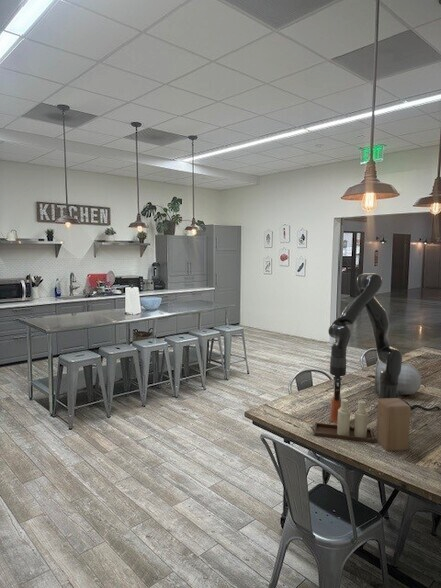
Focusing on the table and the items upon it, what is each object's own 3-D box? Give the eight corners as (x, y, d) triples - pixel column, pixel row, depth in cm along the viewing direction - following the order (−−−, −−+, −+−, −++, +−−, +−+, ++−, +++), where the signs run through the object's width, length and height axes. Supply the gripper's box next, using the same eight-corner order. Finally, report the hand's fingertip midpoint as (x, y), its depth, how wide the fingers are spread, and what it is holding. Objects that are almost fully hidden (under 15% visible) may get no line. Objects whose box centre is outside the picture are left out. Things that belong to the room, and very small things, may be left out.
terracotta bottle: (341, 419, 198) (342, 388, 196) (341, 424, 193) (343, 392, 191) (330, 418, 199) (331, 387, 197) (330, 422, 194) (331, 391, 192)
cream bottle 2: (366, 433, 182) (367, 400, 180) (367, 439, 177) (368, 404, 175) (353, 432, 183) (355, 398, 181) (354, 437, 178) (356, 403, 176)
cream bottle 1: (349, 431, 184) (350, 398, 182) (349, 437, 178) (351, 402, 177) (336, 430, 185) (338, 397, 183) (337, 435, 180) (338, 401, 178)
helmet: (363, 394, 234) (420, 402, 220) (363, 364, 232) (421, 369, 218) (368, 384, 250) (421, 391, 236) (368, 356, 249) (422, 361, 234)
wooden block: (375, 440, 176) (377, 397, 174) (396, 439, 177) (399, 397, 175) (386, 452, 166) (388, 406, 164) (408, 451, 167) (411, 406, 165)
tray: (371, 433, 184) (371, 429, 183) (373, 444, 173) (374, 439, 173) (314, 426, 190) (315, 422, 190) (314, 436, 180) (314, 432, 180)
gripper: (346, 369, 185) (345, 405, 187) (345, 361, 198) (344, 394, 200) (330, 368, 187) (328, 403, 189) (330, 360, 200) (328, 392, 202)
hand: (336, 398), depth 195 cm, fingers closed on terracotta bottle, 4 cm apart
